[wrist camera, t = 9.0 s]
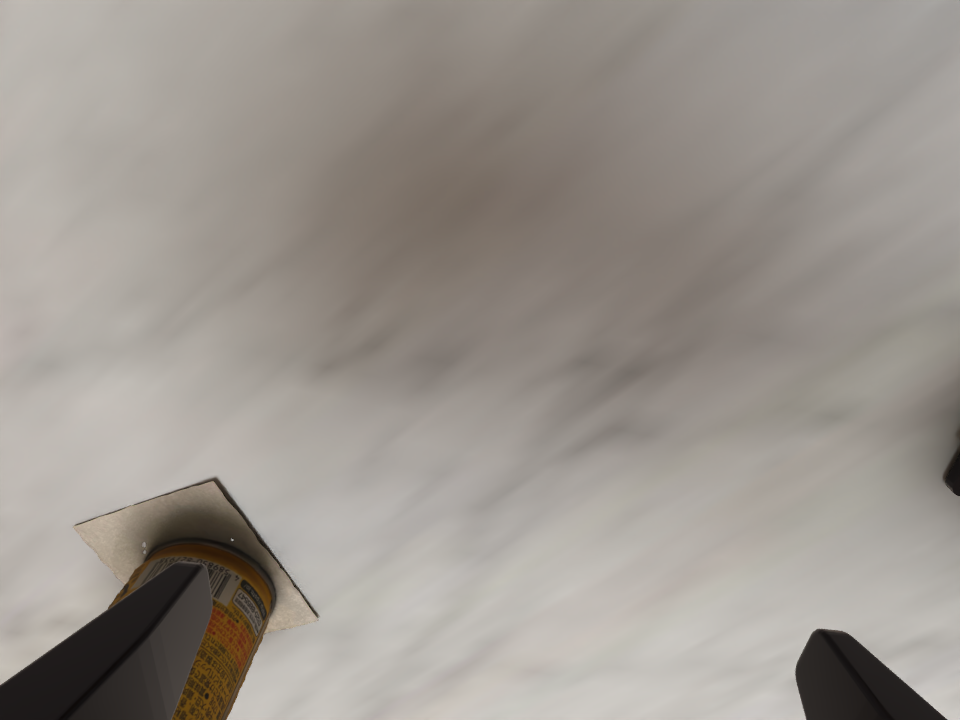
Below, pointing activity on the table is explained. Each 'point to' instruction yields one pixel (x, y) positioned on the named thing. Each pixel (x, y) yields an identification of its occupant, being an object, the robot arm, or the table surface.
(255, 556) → the condiment
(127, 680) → the robot arm
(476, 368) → the table surface
